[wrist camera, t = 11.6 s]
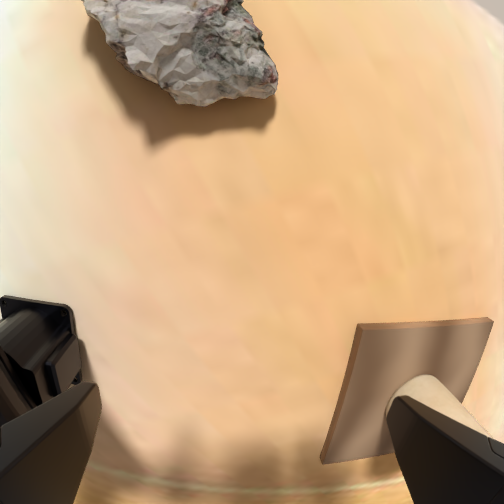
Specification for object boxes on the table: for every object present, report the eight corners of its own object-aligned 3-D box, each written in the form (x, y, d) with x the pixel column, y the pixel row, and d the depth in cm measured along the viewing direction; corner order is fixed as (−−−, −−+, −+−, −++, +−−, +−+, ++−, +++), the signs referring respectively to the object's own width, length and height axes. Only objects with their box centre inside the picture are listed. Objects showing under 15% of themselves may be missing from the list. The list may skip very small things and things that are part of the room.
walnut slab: (319, 457, 25) (322, 464, 24) (357, 323, 22) (362, 329, 21) (438, 433, 26) (443, 439, 25) (487, 317, 23) (493, 321, 22)
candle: (373, 409, 23) (427, 497, 13) (423, 362, 22) (496, 438, 12) (401, 431, 24) (451, 506, 14) (446, 390, 23) (508, 456, 14)
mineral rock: (292, 83, 18) (311, 60, 14) (179, 151, 18) (167, 143, 14) (175, -58, 14) (169, -94, 10) (78, -3, 15) (54, -31, 10)
